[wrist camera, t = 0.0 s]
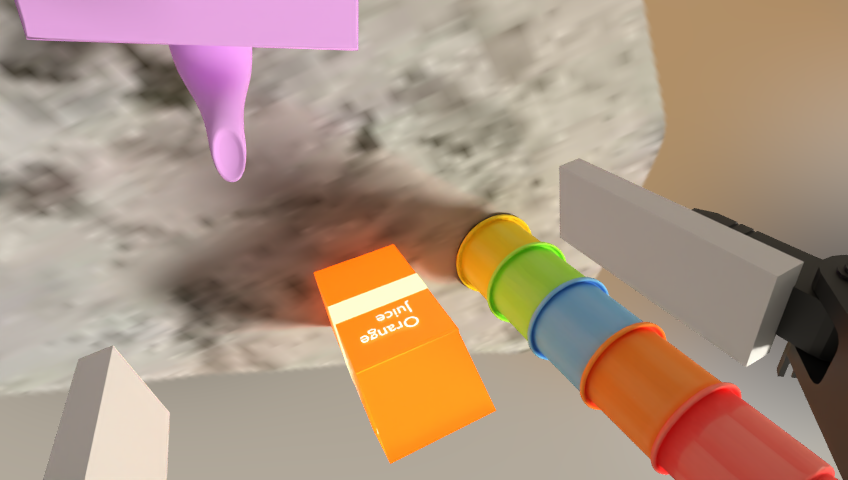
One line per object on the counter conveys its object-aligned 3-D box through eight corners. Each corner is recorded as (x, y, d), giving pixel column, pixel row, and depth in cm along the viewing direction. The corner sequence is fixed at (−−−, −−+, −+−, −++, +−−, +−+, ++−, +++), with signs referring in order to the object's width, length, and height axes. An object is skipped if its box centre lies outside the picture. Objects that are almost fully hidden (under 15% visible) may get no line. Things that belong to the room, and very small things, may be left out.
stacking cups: (445, 290, 53) (712, 616, 26) (467, 211, 49) (811, 501, 22) (514, 286, 58) (800, 558, 31) (539, 214, 54) (895, 455, 27)
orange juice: (312, 271, 45) (378, 431, 29) (394, 242, 47) (496, 375, 31) (331, 328, 49) (398, 493, 33) (405, 298, 51) (500, 440, 36)
